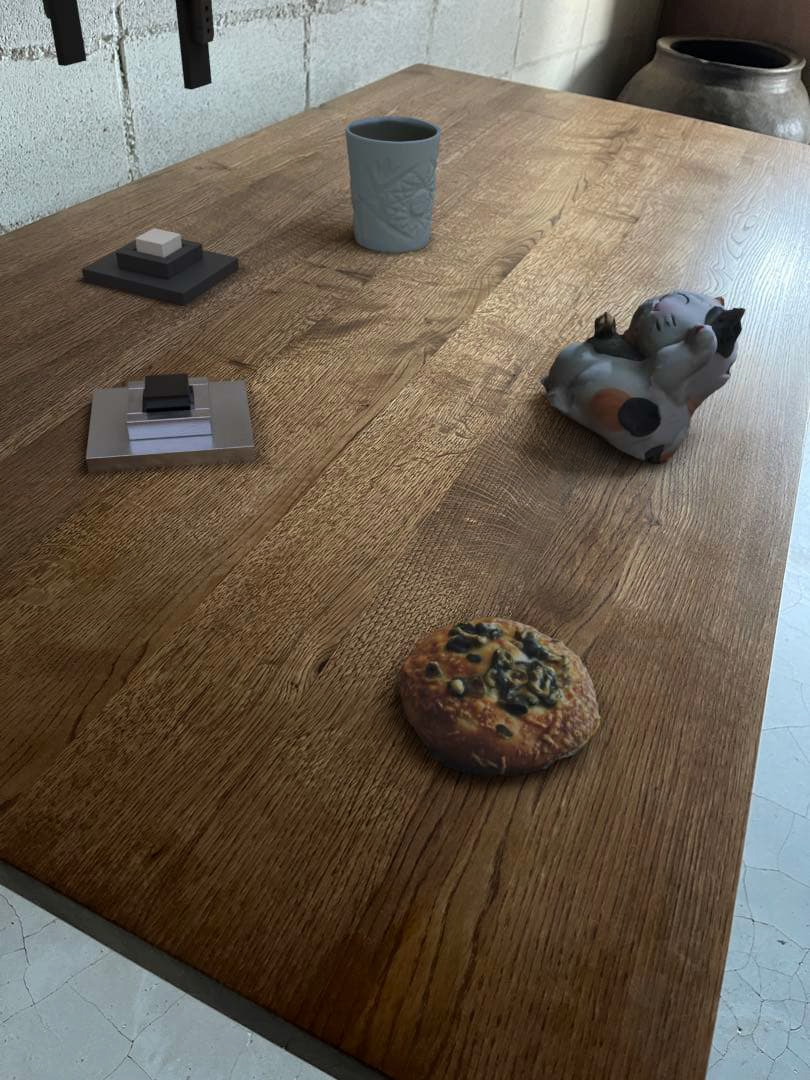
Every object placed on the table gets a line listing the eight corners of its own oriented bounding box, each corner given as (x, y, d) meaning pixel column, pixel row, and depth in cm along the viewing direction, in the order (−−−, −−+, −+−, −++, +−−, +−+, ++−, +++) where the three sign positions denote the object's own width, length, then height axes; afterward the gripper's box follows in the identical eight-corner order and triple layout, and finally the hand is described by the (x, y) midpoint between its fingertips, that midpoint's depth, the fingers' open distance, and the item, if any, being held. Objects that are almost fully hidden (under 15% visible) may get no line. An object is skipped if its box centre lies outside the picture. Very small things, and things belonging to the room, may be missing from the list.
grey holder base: (88, 474, 67) (81, 439, 65) (96, 404, 74) (90, 371, 73) (255, 461, 69) (252, 427, 67) (246, 394, 77) (243, 362, 75)
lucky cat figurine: (541, 373, 81) (636, 231, 76) (655, 447, 81) (758, 312, 76) (524, 411, 68) (638, 242, 62) (660, 500, 68) (787, 340, 62)
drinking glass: (435, 257, 101) (442, 143, 93) (343, 254, 101) (343, 139, 93) (432, 224, 109) (439, 116, 101) (347, 221, 109) (347, 112, 101)
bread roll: (380, 765, 47) (389, 691, 45) (410, 638, 57) (420, 571, 54) (594, 806, 47) (617, 733, 44) (589, 670, 56) (607, 603, 54)
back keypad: (83, 281, 92) (78, 252, 91) (143, 248, 100) (139, 221, 98) (184, 306, 89) (181, 277, 87) (239, 270, 96) (237, 242, 94)
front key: (147, 414, 69) (144, 396, 68) (147, 393, 71) (144, 375, 70) (190, 411, 69) (188, 393, 68) (189, 390, 72) (187, 372, 71)
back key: (136, 253, 92) (134, 238, 91) (156, 242, 94) (154, 227, 93) (163, 259, 91) (161, 244, 90) (182, 248, 93) (180, 233, 92)
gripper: (266, -246, 64) (280, 87, 77) (0, -255, 72) (54, 46, 85) (200, -252, 58) (227, 106, 72) (-79, -261, 67) (-8, 61, 80)
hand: (133, 74), depth 79 cm, fingers open, 13 cm apart
